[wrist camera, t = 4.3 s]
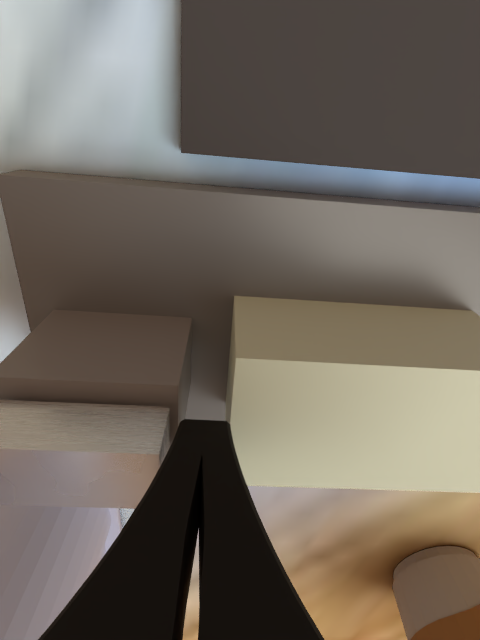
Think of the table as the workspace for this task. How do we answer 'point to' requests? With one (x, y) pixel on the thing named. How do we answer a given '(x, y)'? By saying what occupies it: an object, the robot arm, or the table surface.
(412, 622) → the coffee cup
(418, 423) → the cream rectangular block
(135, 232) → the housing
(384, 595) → the table surface
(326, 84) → the mat
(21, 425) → the bar
